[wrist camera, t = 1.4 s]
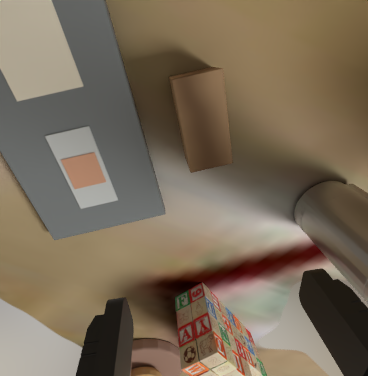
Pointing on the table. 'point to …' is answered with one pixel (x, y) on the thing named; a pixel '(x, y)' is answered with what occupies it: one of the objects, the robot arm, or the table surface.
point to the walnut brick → (202, 117)
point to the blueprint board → (72, 117)
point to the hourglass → (155, 358)
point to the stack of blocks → (213, 337)
